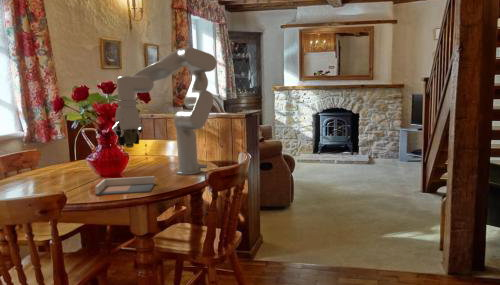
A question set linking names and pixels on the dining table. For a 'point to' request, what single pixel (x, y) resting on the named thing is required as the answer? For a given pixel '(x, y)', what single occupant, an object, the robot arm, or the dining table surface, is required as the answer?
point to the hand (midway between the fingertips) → (129, 144)
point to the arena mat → (127, 189)
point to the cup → (130, 138)
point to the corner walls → (123, 182)
